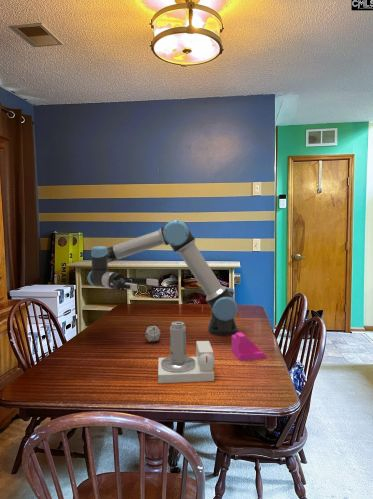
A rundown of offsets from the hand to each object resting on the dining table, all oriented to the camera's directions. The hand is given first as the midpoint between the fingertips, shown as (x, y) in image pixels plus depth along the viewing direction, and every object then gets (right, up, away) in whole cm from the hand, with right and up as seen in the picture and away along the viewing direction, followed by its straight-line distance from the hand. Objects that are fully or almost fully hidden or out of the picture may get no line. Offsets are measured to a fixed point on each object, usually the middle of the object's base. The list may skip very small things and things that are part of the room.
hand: (147, 285), depth 152 cm
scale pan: (+14, -28, -19) cm, 37 cm away
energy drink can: (+14, -27, -19) cm, 36 cm away
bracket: (+44, -30, -1) cm, 53 cm away
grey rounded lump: (+1, -29, +17) cm, 33 cm away
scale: (+16, -31, -18) cm, 40 cm away
